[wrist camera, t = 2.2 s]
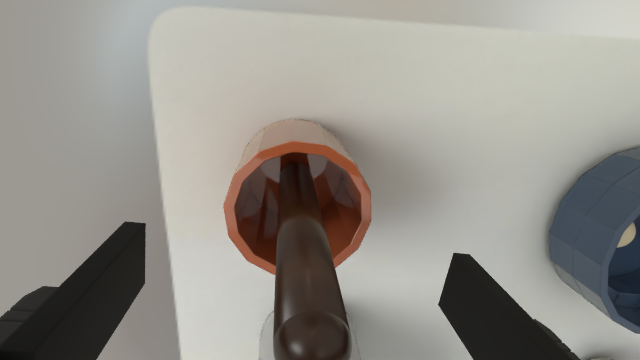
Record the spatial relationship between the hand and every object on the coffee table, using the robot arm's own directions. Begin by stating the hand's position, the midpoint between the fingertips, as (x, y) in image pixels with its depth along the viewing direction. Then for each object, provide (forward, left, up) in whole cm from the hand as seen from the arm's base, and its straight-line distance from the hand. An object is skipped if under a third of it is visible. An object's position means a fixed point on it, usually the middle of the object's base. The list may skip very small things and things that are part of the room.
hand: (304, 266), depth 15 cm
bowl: (+1, +29, -13) cm, 32 cm away
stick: (0, 0, -13) cm, 13 cm away
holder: (0, 0, -13) cm, 13 cm away
